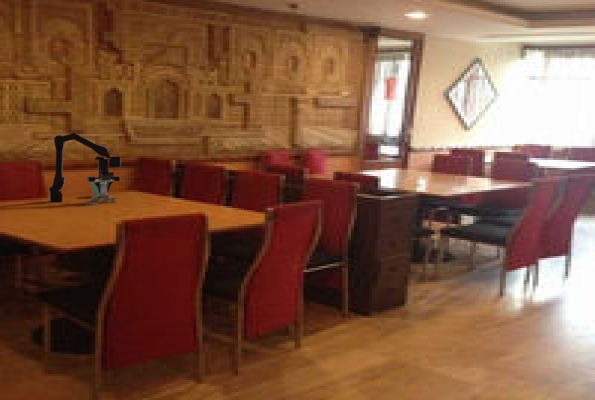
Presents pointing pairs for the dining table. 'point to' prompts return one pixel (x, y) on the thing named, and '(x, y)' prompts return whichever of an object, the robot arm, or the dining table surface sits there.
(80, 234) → the dining table surface
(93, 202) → the coaster
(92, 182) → the mug
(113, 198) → the frame
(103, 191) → the grey rounded cylinder
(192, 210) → the dining table surface
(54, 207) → the dining table surface
